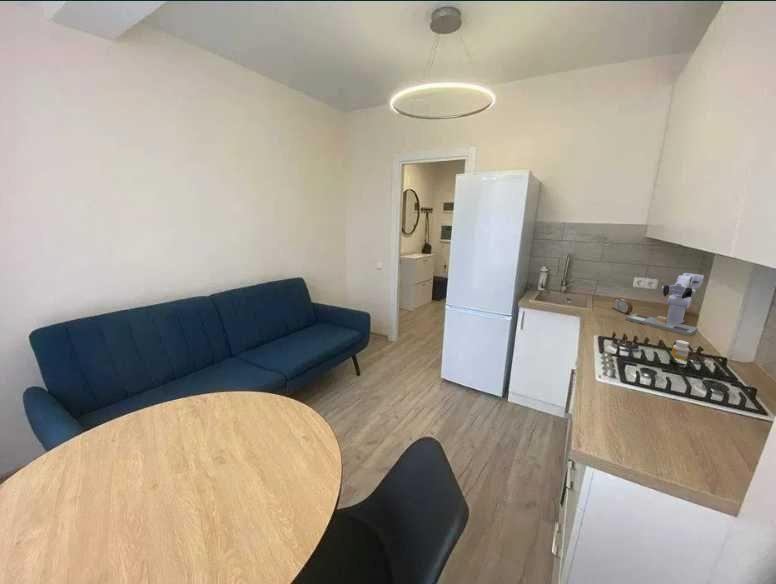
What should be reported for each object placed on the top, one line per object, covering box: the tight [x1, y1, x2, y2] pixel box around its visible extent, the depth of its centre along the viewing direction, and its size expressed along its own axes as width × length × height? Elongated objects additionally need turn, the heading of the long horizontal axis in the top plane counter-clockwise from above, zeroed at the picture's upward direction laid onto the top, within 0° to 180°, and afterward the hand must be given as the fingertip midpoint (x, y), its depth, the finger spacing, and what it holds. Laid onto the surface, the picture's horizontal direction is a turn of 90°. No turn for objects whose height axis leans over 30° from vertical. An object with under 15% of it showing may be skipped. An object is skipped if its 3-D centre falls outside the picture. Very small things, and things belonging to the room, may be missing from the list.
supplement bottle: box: [670, 339, 690, 360], centre depth 139 cm, size 5×5×10 cm
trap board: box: [625, 313, 699, 337], centre depth 188 cm, size 14×30×2 cm, turn 35°
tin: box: [613, 297, 633, 314], centre depth 213 cm, size 15×3×8 cm, turn 179°
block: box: [656, 315, 668, 325], centre depth 184 cm, size 4×4×4 cm
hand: (673, 295), depth 179 cm, fingers open, 7 cm apart
